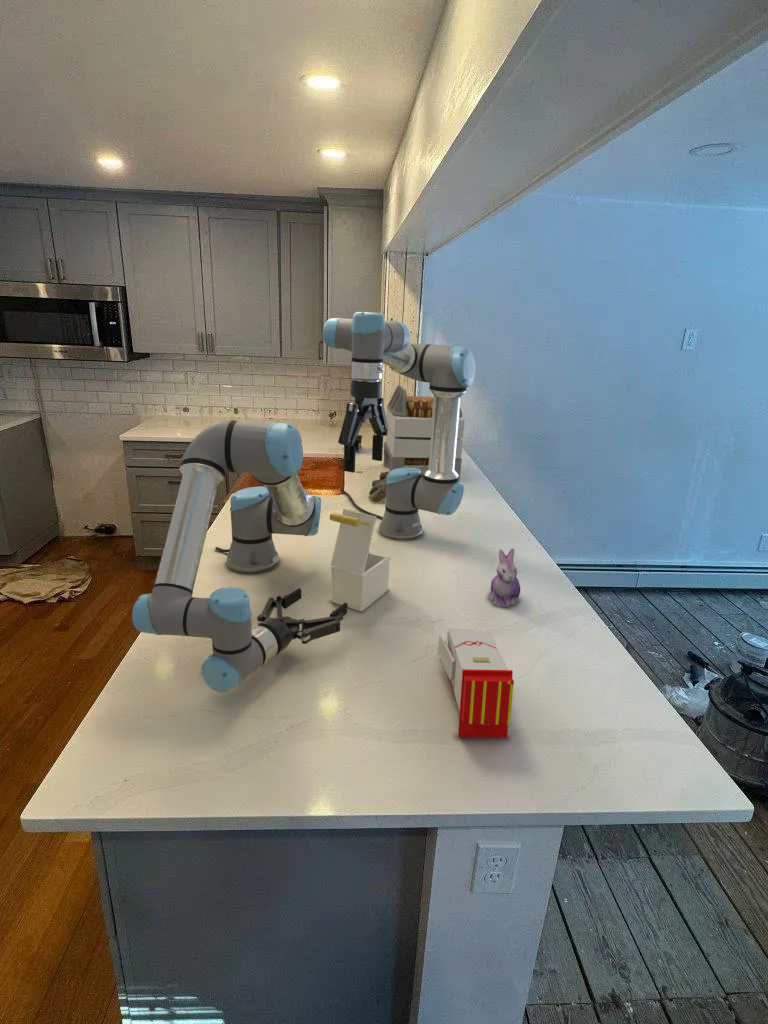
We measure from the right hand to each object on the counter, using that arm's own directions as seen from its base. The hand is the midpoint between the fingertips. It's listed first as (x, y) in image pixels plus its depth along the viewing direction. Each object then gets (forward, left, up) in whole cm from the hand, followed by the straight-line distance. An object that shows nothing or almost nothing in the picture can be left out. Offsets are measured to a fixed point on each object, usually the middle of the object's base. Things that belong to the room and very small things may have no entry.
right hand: (363, 465), depth 143 cm
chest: (0, 0, -37) cm, 37 cm away
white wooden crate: (-80, +100, -37) cm, 134 cm away
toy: (+46, -7, -37) cm, 60 cm away
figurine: (+26, +31, -37) cm, 55 cm away
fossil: (-64, +63, -37) cm, 97 cm away
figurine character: (-132, +102, -37) cm, 171 cm away
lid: (+1, -3, -19) cm, 20 cm away
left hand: (+6, -17, -30) cm, 35 cm away
